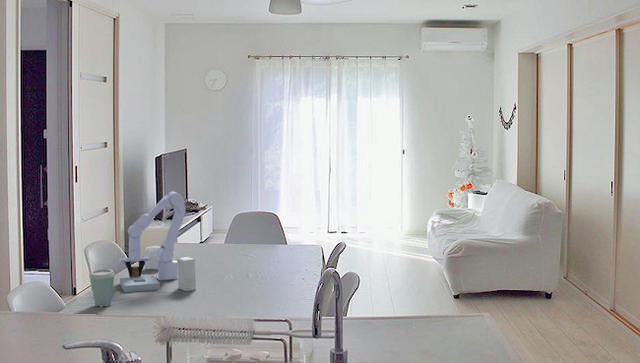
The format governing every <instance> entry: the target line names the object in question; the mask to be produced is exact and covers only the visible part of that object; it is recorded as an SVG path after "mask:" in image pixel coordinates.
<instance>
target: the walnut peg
mask: <svg viewBox="0 0 640 363" xmlns="http://www.w3.org/2000/svg"><path fill="white" fill-rule="evenodd" d="M132 277H139V265H134V266H132V265H131V277H130V278H132Z"/></svg>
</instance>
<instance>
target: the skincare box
mask: <svg viewBox="0 0 640 363" xmlns="http://www.w3.org/2000/svg"><path fill="white" fill-rule="evenodd" d="M176 261H177V266H178V279H177V281H178V285H177V286H178V289H180V290H182V291H184V292H189V291H191V292H192V291H196V288H197V286H196V285H197V284H196V265H195V264H196V262H195V258H192V257H190V256H185V257H177V260H176Z"/></svg>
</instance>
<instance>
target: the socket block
mask: <svg viewBox="0 0 640 363" xmlns="http://www.w3.org/2000/svg"><path fill="white" fill-rule="evenodd" d="M119 285H120V287H121V289H122V290H123V292H124V293H131V292H144V291H154V290H155V291H156V290H160V282H159V280H158V279H157V277H155V276H154V275H149V276H148V275H147V276H141V277H132V278H131V277H123V278H122V277H120V278H119Z"/></svg>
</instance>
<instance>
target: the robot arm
mask: <svg viewBox="0 0 640 363" xmlns="http://www.w3.org/2000/svg"><path fill="white" fill-rule="evenodd" d="M167 207H172V208H173V210H174V214H173V216H172V219H171V222H170V225H169V227H168V231H167V233H166V236H165V239H164V241H163V242H162V244H161V246H159V247H160V248H159V249H158V252H157V254H158V256H159V257H160V258H159V260H158V269H157V276H156V277H155V278H156V280H157V281H168V280H169V281H170V280H178V260H174V250H175V243H176V241H177V239H178V238H177V237H178V234H179V232H180V229H181V226H182V223H183V221H184V218H185V215H186V211H187V210H186V205H185V198H184V197H183V196H182V194H180V193H178V192H176V191H169V192H167V194H166V195H164V196H163V197H162V198H161V199H160V200H159V201H158V202H157V203H156V204H155V205H154V207H153V208H151V210H150V211H149V212H148V213H144V214H140V216H139V218H138V219H137V220H136V221H134V222H133V223H132V225H130V226H129V227H128V229H127V234H128V257H125V258H119V264H124V265H125V267H126V269H127V272H128V278H131V267H132V263H138V266H139V277H142V272H143V269H144V268H145V261H150V257H145V256H142V249H141V248H142V240H141V236H142V233H143V232H144V231H145V230H146V229H147V228H148V227H149V226H150V225H151V224H152V223H153V219H154V218H155V217H156V216H157V215H158V214H159V213H160V212H162V210H164V209H165V208H167Z"/></svg>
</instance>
